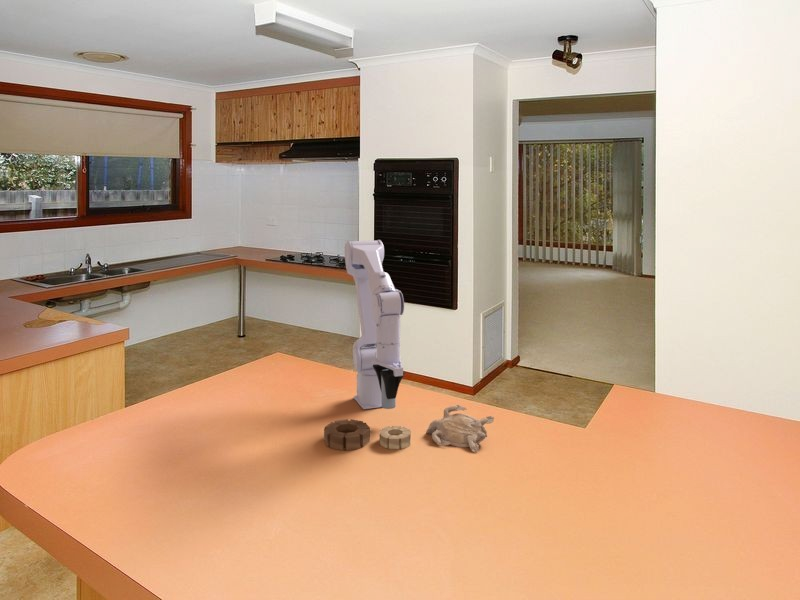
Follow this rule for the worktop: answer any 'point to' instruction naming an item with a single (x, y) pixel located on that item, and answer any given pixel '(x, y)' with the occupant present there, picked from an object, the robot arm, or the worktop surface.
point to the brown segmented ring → (347, 434)
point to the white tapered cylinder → (386, 402)
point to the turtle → (459, 429)
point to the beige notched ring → (395, 437)
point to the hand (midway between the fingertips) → (388, 395)
